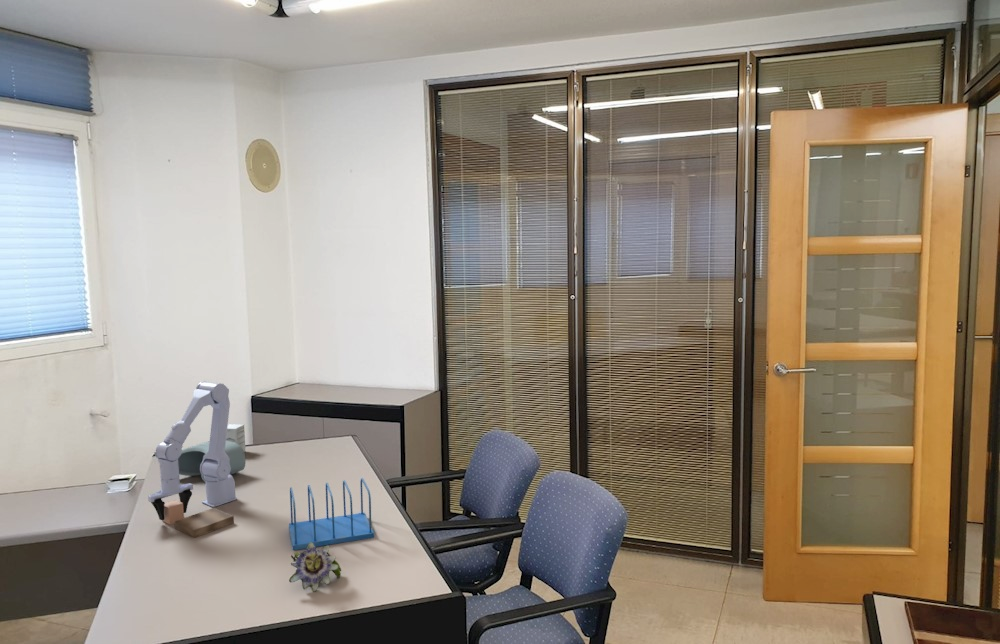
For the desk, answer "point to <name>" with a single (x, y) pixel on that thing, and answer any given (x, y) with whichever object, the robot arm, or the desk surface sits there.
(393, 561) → the desk surface
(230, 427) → the supplement box
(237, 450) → the green rounded shell
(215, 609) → the desk surface
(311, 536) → the file sorter
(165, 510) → the terracotta block
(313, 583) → the passion flower
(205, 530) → the block
